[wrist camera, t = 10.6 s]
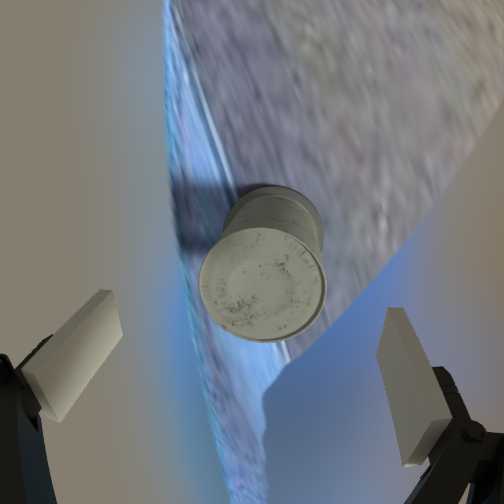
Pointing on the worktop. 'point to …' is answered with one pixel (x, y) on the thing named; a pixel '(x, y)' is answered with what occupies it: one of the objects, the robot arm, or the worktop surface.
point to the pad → (283, 192)
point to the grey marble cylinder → (265, 272)
